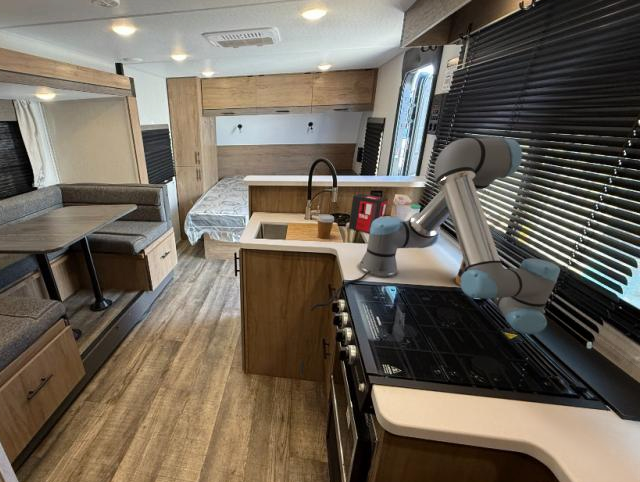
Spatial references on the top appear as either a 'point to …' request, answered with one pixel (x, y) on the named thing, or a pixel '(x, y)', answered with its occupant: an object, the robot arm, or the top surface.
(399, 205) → the coffeecake box
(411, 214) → the milk bottle
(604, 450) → the top surface
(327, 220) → the disposable coffee cup
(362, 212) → the cleaning product box
